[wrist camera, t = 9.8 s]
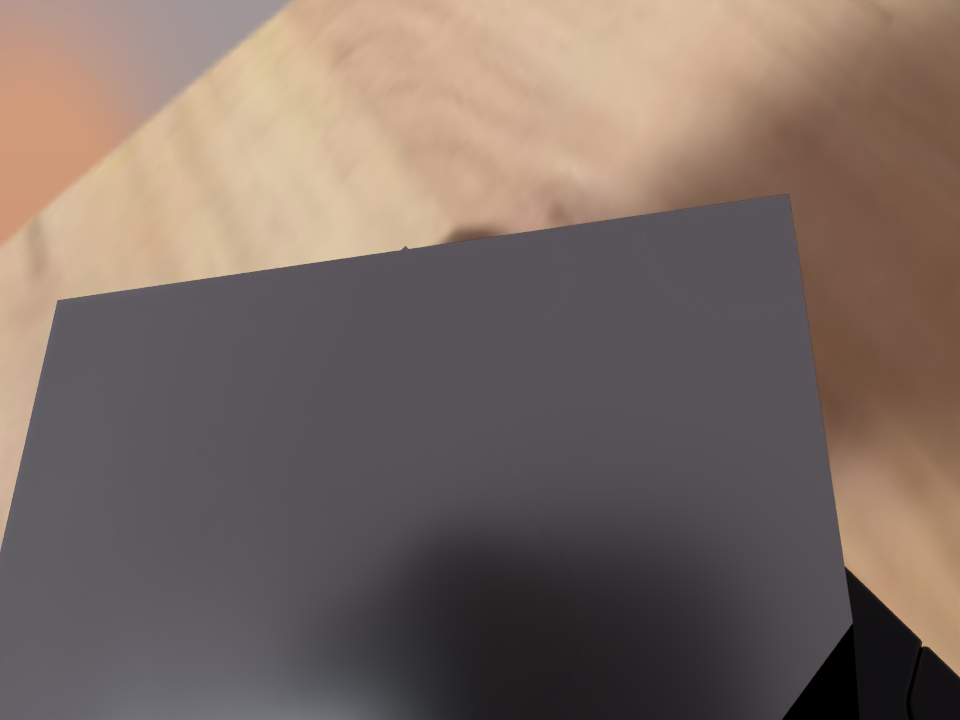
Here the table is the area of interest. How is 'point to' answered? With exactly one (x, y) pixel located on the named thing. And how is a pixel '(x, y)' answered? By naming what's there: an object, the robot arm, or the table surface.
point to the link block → (439, 489)
